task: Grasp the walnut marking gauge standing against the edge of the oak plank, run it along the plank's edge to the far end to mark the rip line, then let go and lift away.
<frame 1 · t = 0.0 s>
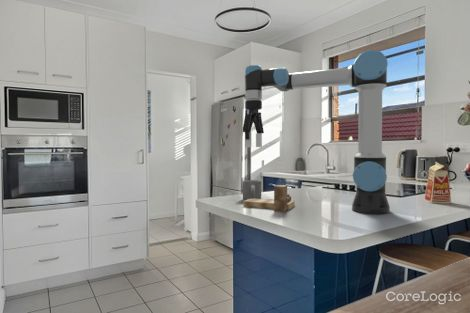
hand: (253, 147, 148), 28 cm above the table, tool pointing down, fingers open, 13 cm apart
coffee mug: (251, 200, 170), on the table
milk carton: (437, 202, 161), on the table
oak board: (269, 206, 152), on the table
marking gauge: (280, 210, 142), on the table
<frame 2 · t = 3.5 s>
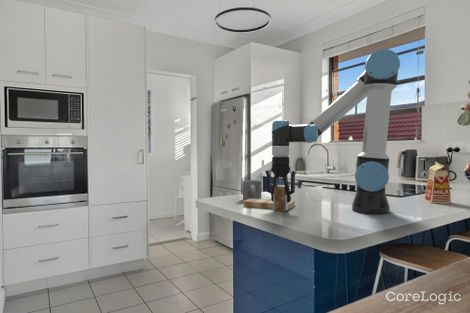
hand: (280, 209, 142), 1 cm above the table, tool pointing down, fingers closed on marking gauge, 4 cm apart
marking gauge: (280, 210, 142), on the table, touching gripper
everything else where it was.
when the fingers open (1 cm above the table, at t = 8.2 s): marking gauge stays where it is, on the table.
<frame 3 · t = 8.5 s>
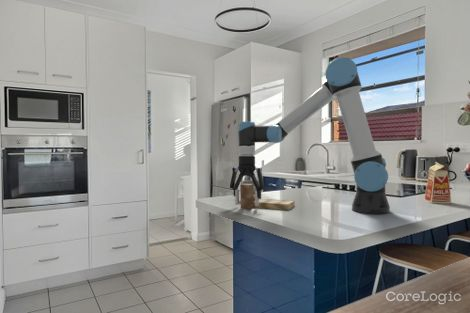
hand: (247, 204, 148), 2 cm above the table, tool pointing down, fingers open, 9 cm apart
marking gauge: (247, 208, 148), on the table
everything else where it was.
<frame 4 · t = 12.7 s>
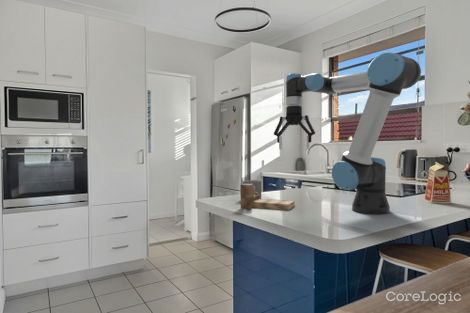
hand: (294, 149, 159), 27 cm above the table, tool pointing down, fingers open, 13 cm apart
nothing on the table moved.
at the end: marking gauge inside the target area (0.6 cm from its centre), on the table; marking gauge tilted 0°; the gripper is holding nothing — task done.
